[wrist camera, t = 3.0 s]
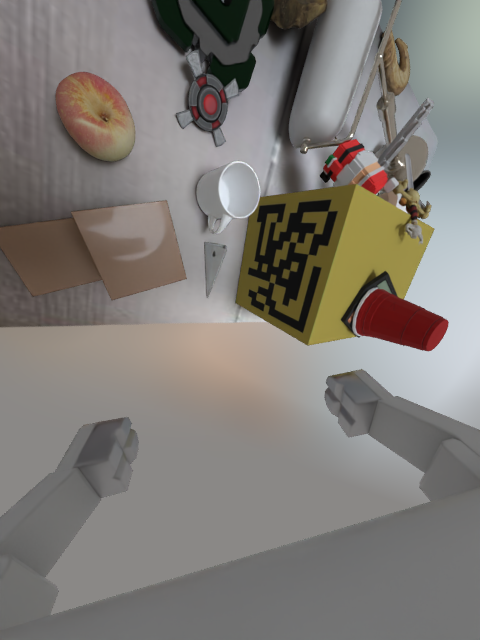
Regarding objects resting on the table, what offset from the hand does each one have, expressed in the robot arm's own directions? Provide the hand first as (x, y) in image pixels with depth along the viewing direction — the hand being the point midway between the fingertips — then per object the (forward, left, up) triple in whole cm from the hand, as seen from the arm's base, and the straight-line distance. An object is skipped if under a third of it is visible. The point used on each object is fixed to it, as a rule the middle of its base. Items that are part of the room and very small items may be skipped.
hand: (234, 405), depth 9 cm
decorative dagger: (-12, +67, -27) cm, 73 cm away
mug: (-7, +20, -42) cm, 47 cm away
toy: (-23, +22, -40) cm, 51 cm away
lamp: (-19, +61, -41) cm, 76 cm away
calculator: (+15, +39, -16) cm, 44 cm away
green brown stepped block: (-3, -4, -42) cm, 42 cm away
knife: (+3, +57, -40) cm, 69 cm away
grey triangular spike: (+13, +17, -43) cm, 48 cm away
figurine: (-13, +42, -28) cm, 52 cm away
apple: (-19, +3, -42) cm, 46 cm away
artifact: (-31, +86, -40) cm, 101 cm away
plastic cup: (+16, +38, -2) cm, 41 cm away
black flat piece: (-35, +26, -42) cm, 60 cm away
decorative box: (+10, +43, -42) cm, 61 cm away
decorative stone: (-38, +41, -42) cm, 70 cm away
